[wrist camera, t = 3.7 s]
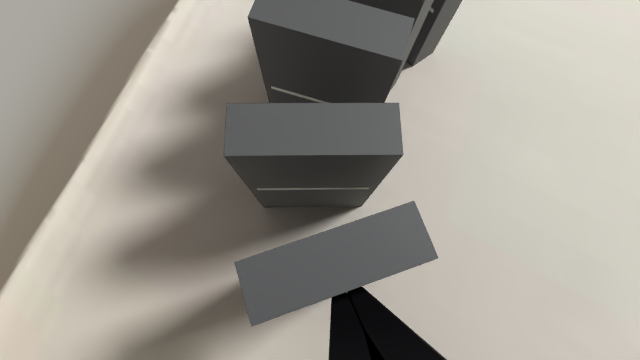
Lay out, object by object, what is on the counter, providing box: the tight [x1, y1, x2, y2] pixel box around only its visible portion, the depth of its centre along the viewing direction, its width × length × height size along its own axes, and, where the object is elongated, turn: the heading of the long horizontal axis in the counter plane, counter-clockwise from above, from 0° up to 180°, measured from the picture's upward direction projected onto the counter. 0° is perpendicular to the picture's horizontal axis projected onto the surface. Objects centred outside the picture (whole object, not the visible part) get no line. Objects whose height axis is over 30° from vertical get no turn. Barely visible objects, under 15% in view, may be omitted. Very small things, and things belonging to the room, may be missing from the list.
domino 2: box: [224, 103, 403, 207], centre depth 13 cm, size 2×5×8 cm, turn 91°
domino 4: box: [349, 0, 434, 92], centre depth 15 cm, size 2×5×8 cm, turn 55°
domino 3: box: [234, 201, 438, 326], centre depth 12 cm, size 2×5×8 cm, turn 109°
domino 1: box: [248, 0, 415, 103], centre depth 14 cm, size 2×5×8 cm, turn 73°
